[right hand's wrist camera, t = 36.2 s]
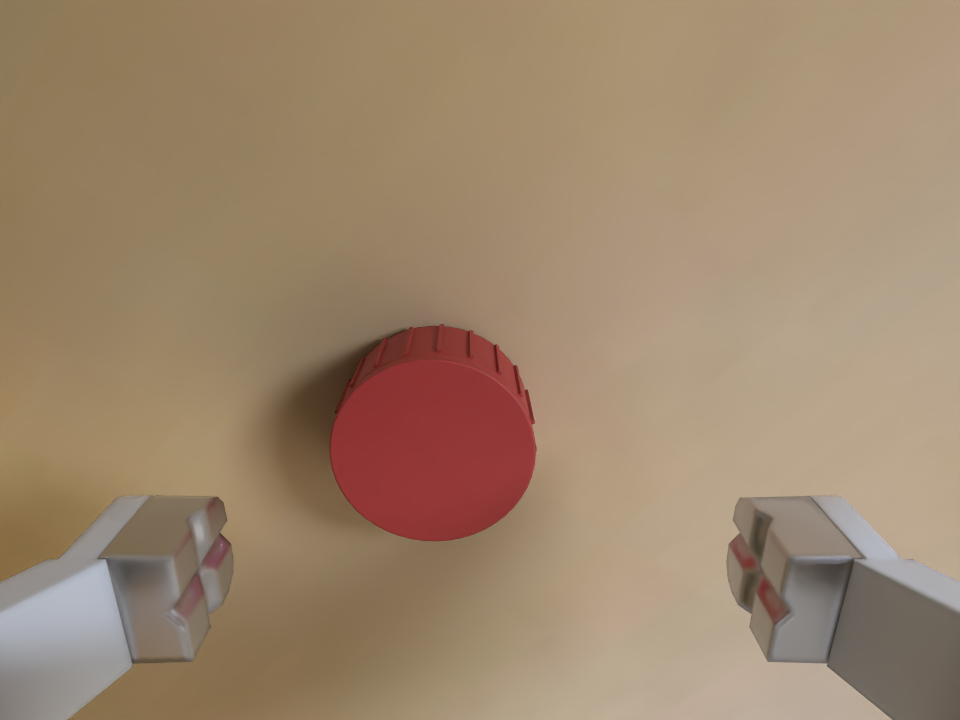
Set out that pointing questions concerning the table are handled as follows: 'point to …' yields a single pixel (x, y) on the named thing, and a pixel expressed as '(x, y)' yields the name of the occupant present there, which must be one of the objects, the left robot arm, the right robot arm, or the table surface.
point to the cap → (434, 435)
